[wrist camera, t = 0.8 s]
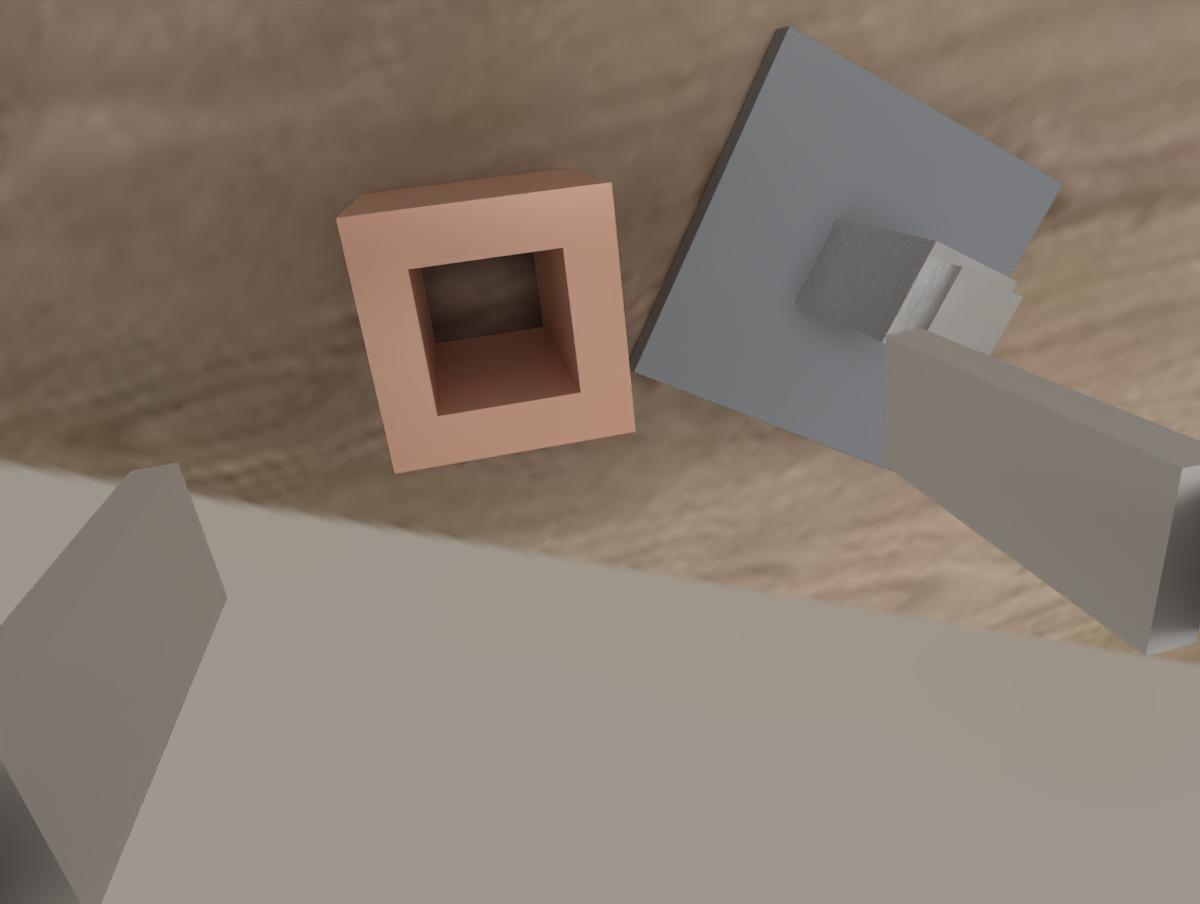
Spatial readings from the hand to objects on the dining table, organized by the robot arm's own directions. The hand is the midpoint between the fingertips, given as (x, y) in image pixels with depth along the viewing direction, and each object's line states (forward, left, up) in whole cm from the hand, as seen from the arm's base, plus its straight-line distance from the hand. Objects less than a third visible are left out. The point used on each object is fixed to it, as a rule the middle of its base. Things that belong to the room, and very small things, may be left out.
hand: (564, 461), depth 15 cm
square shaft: (+14, +6, -17) cm, 23 cm away
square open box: (0, 0, -18) cm, 19 cm away
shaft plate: (+14, +6, -18) cm, 24 cm away
